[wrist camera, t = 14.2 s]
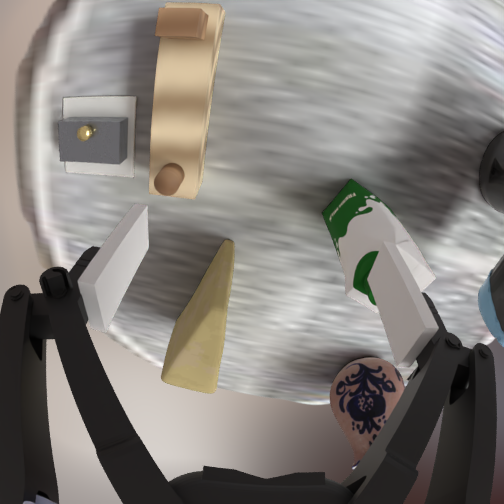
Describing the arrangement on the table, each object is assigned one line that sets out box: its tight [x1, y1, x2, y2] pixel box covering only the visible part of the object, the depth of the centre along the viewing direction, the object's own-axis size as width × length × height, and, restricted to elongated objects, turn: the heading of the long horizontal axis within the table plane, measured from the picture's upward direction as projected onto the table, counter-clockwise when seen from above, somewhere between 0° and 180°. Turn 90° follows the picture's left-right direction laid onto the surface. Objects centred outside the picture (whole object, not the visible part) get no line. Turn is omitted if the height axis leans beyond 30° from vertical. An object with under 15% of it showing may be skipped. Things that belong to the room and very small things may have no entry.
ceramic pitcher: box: [330, 357, 405, 469], centre depth 59 cm, size 18×21×25 cm
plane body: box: [149, 3, 226, 199], centre depth 32 cm, size 24×6×11 cm, turn 171°
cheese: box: [161, 240, 234, 393], centre depth 49 cm, size 22×10×15 cm, turn 161°
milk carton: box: [322, 179, 436, 314], centre depth 37 cm, size 9×9×20 cm
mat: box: [63, 96, 137, 178], centre depth 39 cm, size 12×12×1 cm
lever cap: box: [58, 117, 128, 165], centre depth 37 cm, size 6×10×4 cm, turn 81°
